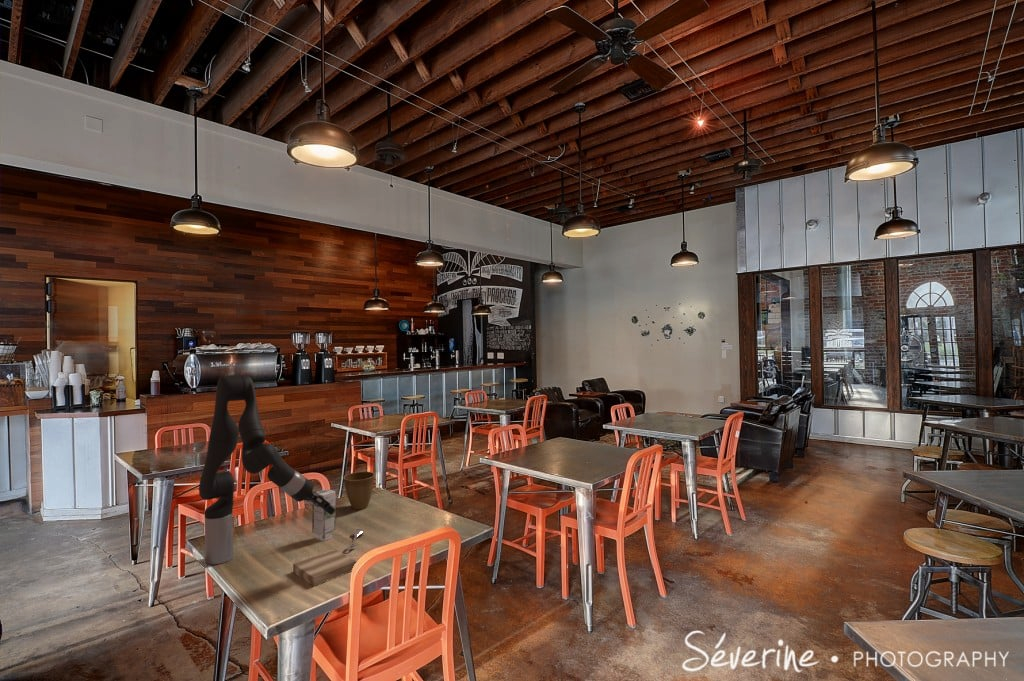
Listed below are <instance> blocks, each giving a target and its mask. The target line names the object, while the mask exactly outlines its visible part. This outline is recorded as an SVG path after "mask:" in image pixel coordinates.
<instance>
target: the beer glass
mask: <svg viewBox="0 0 1024 681" xmlns="http://www.w3.org/2000/svg"><path fill="white" fill-rule="evenodd" d="M332 536H333V535H332V532H329V533H327V534H325V535H320V534H316V538H315V540H317V541H318V542H326V541H327V540H330V539H332Z"/></svg>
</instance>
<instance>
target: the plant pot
mask: <svg viewBox="0 0 1024 681" xmlns="http://www.w3.org/2000/svg"><path fill="white" fill-rule="evenodd" d="M343 483H344V488H345V489H344V490H345V492H346V495H347V499H348V501H349V503H350V506H351V509H352V510H355V511H360V510H364V509H365V510H366V508H368V506H369V504H370V501H371V497H372V492H373V488H374V483H375V473H374V472H372V471H356V472H352V473H347V474H346V475H344V476H343Z"/></svg>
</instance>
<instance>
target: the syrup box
mask: <svg viewBox="0 0 1024 681" xmlns="http://www.w3.org/2000/svg"><path fill="white" fill-rule="evenodd" d="M316 492H317V493H318V495H320V496H321V497H323V498H324V499H325V500H326V501H327V502H329V503H330V506H332V507H333V508H334V509H335V510H336V493H337V492H336V491H334V490H331V489H327V488H325V489H321V490H318V491H316ZM317 505H318V504H317ZM324 505H325V504H324ZM324 505H323V506H324ZM311 506H312V508H311V509H312V510H311V512H312V515H311V516H312V518H311V519H312V520H311V521H312V522H311V523H312V524H311V527H312V529H311V531H312V532H311V533H312V534H316V535H317V534H320V535H325V534H327V533H329V532H331V533H332V532H333V531H335V530H336V511H335V512H334V513H333V514H332V515H331V514H329V513H328V512H326V511H325V510H323V509H322V508H321V507H316V506H315V505H313V504H311Z"/></svg>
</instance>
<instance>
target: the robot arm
mask: <svg viewBox="0 0 1024 681" xmlns="http://www.w3.org/2000/svg"><path fill="white" fill-rule="evenodd" d="M215 390H216V391H215V400H214V401H215V402H214V403H215V404H214V411H213V419H212V424H211V427H210V428H211V429H210V432H209V433H210V434H209V438H208V445H207V452H206V457H205V463H204V466H203V470H202V472H201V476H200V480H199V486H198V493H199V496H200V498H201V499H202V500H205V501H209V500H215V499H217V500H216V501H215V502H214V503H213V504H211V505H209V506H207V507H206V508H205V509H204V558H205V559H204V561H205V564H206V565H211V566H212V565H213V566H214V565H219V564H220V565H221V564H224V563H226V562H228V561H231V560H232V559H233V558H234V524H233V520H234V518H233V516H234V514H233V512H234V511H233V509H234V495H235V478H234V476H233V474H232V473H231V471H227V470H226V471H219V470H220V468H221V466H222V465H223V464H225V462H226V460H228V458H230V456H232V454H233V452H234V451H236V448H237V446H238V440H239V436H240V439H241V442H242V448H241V462H242V465H243V466H242V467H243V468H244V470H245V471H246V472H247V473H249V474H252V475H254V474H255V475H256V474H259V473H261V472H262V471H264V469H266V468H268V467H269V466H270V465H272V466H271V467H270V468H269V470H268V471H267V474H266V475H267V479H268V480H269V481H270V482H272V483H273V484H275V485H276V486H277V487H278V488H280V489H281V490H282V491H283V493H285V494H287V495H288V496H289V497H290V498H292V499H293V500H295V501H296V502H303V501H304V502H306V503H307V504H309V505H312V504H313V505H315V506H316V507H321V508H322V509H323V510H325V511H326V512H328V513H329V514H331V515H332V514H333V513H334V512H335V513H336V508H335V509H334V508H333V507H332V506H330V503H329V502H327V501H326V500H325V499H324V498H323V497H321V496H320V495H318V493H317V492H318V491H314V483H313V482H311V480H309V479H308V478H307V477H306V476H304V475H303V474H302V473H300V472H299V471H297V470H295V469H294V468H293V467H292V466H290V465H288V463H286V461H285V460H284V459H283V457H282V456H281V455H280V453H279V452H278V450H277V448H276V447H275V446H274V445H273V444H271V443H266V442H265V441H266V433H265V431H264V428H263V425H262V423H261V419H260V415H259V408H258V402H257V394H256V390H255V385H254V381H253V379H252V377H251V376H250V375H246V374H241V375H240V374H237V375H235V374H232V375H231V374H230V375H222V376H220V377H219V379H218V380H217V385H216V389H215ZM237 401H238V402H239V401H244V402H245V407H244V410H243V412H242V414H241V416H240V418H239V420H238V424H237V423H236V421H235V420H234V419H233V417H232V415H231V414H230V412H229V409H228V404H229V403H230V402H237ZM218 471H219V472H218ZM317 504H318V505H317ZM324 504H325V505H324ZM323 505H324V506H323Z"/></svg>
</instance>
